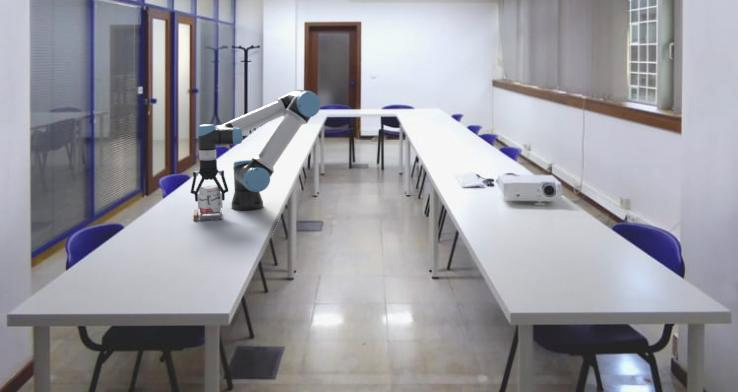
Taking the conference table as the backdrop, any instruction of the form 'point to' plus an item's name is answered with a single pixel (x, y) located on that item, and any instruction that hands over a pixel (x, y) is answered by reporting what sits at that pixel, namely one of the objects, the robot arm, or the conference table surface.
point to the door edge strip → (195, 215)
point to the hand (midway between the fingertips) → (210, 207)
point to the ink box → (209, 199)
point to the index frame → (210, 216)
